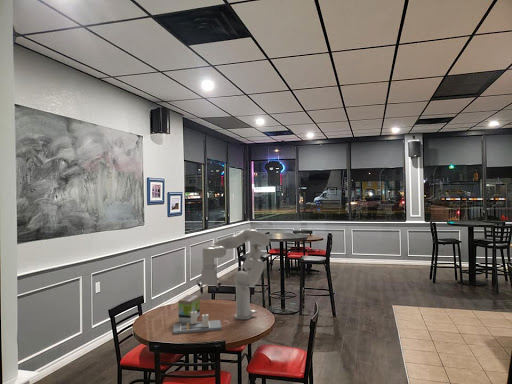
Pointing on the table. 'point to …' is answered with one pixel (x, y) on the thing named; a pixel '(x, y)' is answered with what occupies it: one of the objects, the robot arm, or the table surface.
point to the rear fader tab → (194, 317)
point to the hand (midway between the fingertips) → (209, 293)
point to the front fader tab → (205, 320)
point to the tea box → (188, 308)
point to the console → (196, 327)
